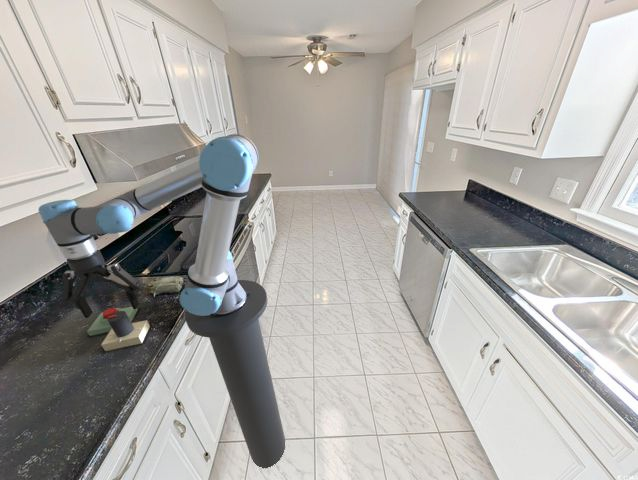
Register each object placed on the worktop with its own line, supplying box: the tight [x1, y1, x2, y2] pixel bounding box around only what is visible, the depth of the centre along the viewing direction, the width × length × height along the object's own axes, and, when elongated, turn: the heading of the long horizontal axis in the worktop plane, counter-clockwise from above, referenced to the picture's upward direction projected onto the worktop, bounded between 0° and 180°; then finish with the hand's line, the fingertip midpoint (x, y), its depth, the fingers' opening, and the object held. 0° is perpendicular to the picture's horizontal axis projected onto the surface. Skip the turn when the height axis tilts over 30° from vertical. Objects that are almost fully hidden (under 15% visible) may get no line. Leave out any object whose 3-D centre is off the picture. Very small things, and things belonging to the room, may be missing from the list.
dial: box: [108, 311, 134, 337], centre depth 85 cm, size 5×5×7 cm
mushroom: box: [145, 275, 184, 298], centre depth 111 cm, size 14×10×5 cm, turn 98°
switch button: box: [102, 307, 117, 319], centre depth 93 cm, size 4×4×2 cm
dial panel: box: [100, 319, 151, 352], centre depth 87 cm, size 11×9×3 cm
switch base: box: [86, 306, 139, 337], centre depth 94 cm, size 12×10×4 cm
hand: (113, 310), depth 82 cm, fingers open, 13 cm apart
